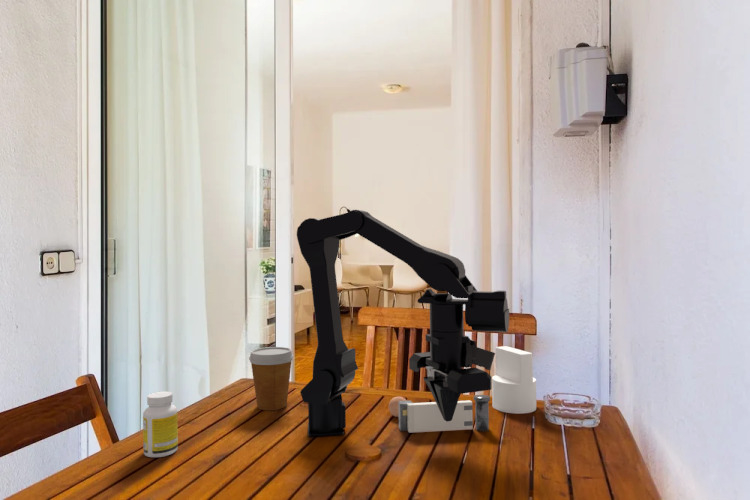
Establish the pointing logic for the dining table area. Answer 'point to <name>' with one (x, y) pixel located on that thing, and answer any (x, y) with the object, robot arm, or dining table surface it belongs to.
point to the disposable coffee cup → (271, 376)
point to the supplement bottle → (160, 425)
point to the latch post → (403, 415)
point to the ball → (395, 405)
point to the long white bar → (438, 417)
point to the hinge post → (482, 412)
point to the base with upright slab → (514, 381)
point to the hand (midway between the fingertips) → (447, 420)
